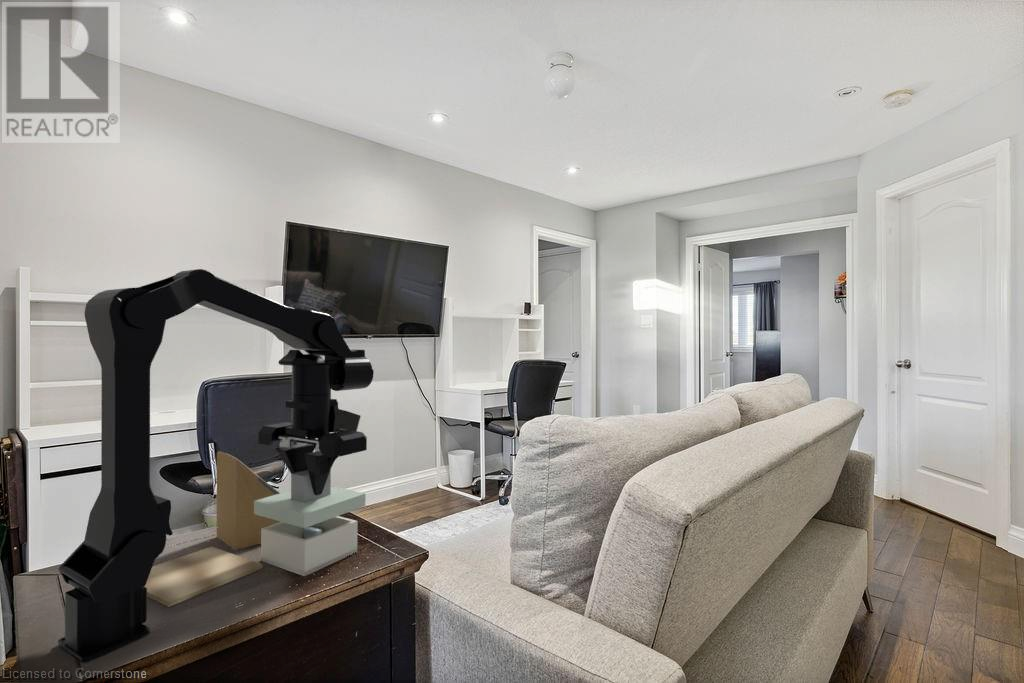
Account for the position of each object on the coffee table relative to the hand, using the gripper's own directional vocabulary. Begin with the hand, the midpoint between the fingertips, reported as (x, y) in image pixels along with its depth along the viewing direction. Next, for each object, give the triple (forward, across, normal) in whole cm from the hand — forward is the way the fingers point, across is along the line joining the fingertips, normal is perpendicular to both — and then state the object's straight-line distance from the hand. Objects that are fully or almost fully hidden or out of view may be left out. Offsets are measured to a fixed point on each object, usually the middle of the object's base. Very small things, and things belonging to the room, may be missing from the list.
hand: (311, 493), depth 82 cm
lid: (+3, 0, 0) cm, 3 cm away
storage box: (+10, 0, 0) cm, 10 cm away
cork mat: (+10, +9, +13) cm, 19 cm away
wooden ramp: (+10, +15, -4) cm, 18 cm away
